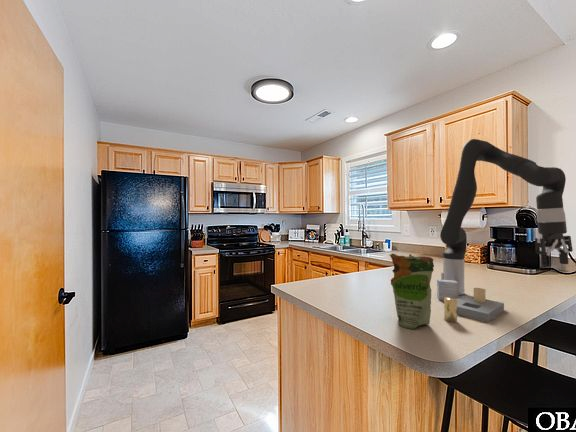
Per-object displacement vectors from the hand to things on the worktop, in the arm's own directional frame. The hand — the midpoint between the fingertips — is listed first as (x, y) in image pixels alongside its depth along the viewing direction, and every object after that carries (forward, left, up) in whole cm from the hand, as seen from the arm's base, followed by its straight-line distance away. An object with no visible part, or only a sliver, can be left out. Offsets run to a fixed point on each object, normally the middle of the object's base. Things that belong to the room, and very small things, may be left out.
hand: (555, 264), depth 98 cm
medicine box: (-35, -4, -21) cm, 41 cm away
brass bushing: (-24, -30, -20) cm, 44 cm away
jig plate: (-22, -11, -20) cm, 32 cm away
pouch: (-31, -45, -21) cm, 59 cm away
